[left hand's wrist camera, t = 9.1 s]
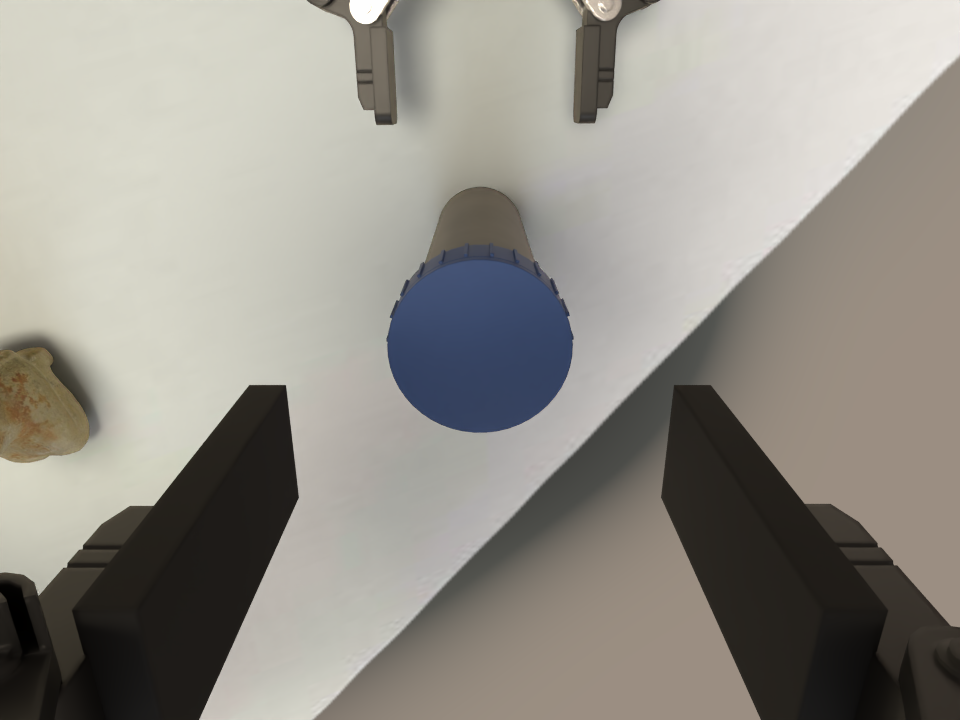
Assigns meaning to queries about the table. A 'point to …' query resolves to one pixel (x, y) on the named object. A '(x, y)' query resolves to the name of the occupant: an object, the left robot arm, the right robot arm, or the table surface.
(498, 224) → the jar
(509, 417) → the lid
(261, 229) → the table surface
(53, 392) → the sculpture
